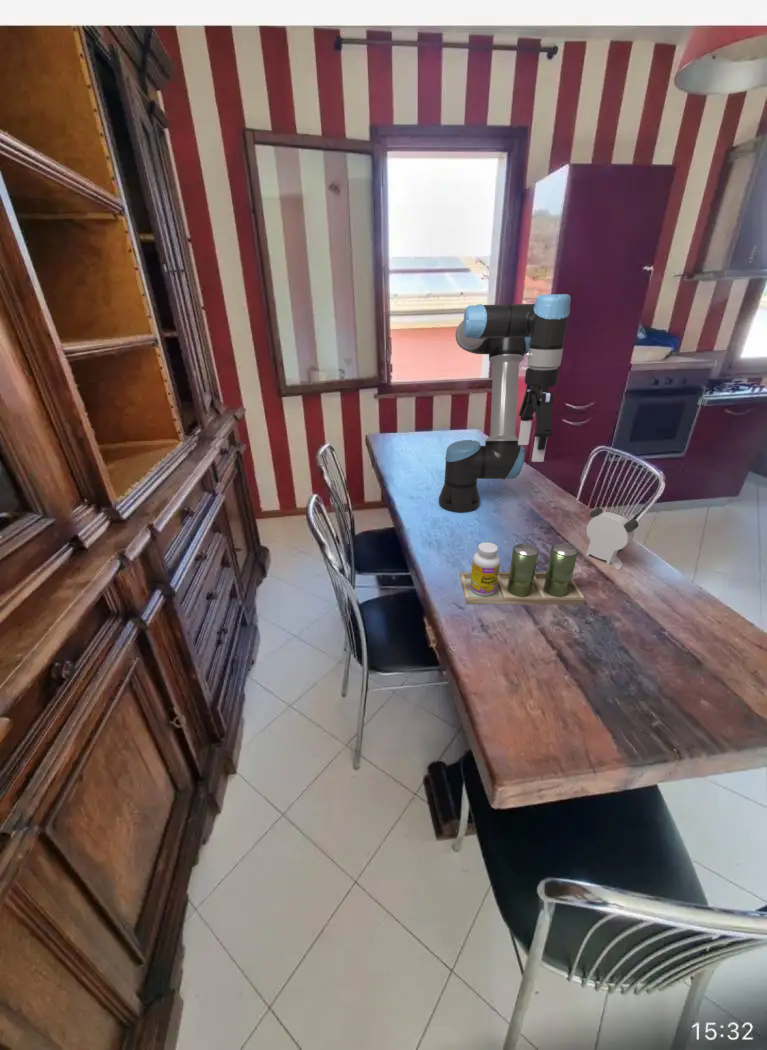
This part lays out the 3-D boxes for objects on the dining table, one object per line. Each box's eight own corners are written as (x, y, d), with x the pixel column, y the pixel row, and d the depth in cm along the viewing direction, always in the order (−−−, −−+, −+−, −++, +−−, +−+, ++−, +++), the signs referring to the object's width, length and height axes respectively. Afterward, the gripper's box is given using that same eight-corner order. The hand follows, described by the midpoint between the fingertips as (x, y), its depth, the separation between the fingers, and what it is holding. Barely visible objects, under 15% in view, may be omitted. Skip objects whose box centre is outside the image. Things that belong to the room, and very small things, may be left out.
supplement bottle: (477, 599, 105) (481, 556, 99) (465, 584, 111) (469, 542, 105) (500, 594, 107) (507, 551, 101) (488, 579, 112) (493, 538, 106)
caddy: (459, 579, 115) (460, 572, 113) (566, 579, 114) (568, 572, 112) (465, 607, 104) (466, 599, 103) (583, 607, 103) (585, 599, 102)
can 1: (504, 583, 111) (510, 543, 105) (527, 583, 111) (534, 543, 105) (510, 597, 106) (516, 555, 100) (534, 597, 106) (542, 555, 100)
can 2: (540, 583, 111) (548, 543, 105) (563, 583, 111) (572, 542, 105) (547, 597, 106) (556, 556, 100) (571, 597, 105) (582, 555, 99)
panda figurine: (630, 562, 120) (645, 516, 113) (613, 578, 114) (628, 530, 107) (589, 546, 128) (600, 502, 121) (571, 560, 122) (582, 514, 115)
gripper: (514, 360, 111) (504, 438, 121) (543, 376, 89) (528, 469, 100) (542, 360, 111) (530, 438, 121) (578, 375, 89) (560, 469, 99)
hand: (529, 452), depth 110 cm, fingers open, 13 cm apart
